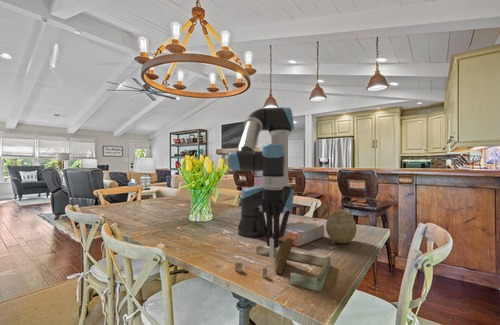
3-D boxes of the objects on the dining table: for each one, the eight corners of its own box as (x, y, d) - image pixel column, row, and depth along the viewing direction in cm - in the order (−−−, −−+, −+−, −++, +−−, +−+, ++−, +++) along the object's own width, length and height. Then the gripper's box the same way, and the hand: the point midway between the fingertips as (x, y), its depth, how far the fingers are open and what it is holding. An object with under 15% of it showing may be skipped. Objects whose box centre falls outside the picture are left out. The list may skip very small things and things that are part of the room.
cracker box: (301, 231, 124) (273, 239, 110) (301, 219, 124) (273, 226, 110) (324, 237, 113) (297, 247, 100) (324, 224, 113) (297, 233, 100)
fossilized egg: (356, 249, 97) (356, 213, 97) (324, 245, 102) (324, 210, 102) (356, 240, 109) (356, 207, 109) (327, 236, 114) (327, 205, 114)
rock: (288, 272, 73) (303, 259, 81) (275, 246, 76) (291, 236, 83) (265, 279, 80) (281, 267, 87) (254, 255, 82) (271, 245, 90)
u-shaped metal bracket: (235, 271, 79) (235, 262, 79) (257, 252, 95) (257, 244, 95) (321, 291, 67) (321, 281, 67) (330, 265, 83) (330, 257, 83)
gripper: (251, 188, 82) (251, 256, 82) (287, 190, 76) (287, 264, 76) (260, 186, 88) (260, 249, 88) (294, 188, 82) (294, 255, 82)
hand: (272, 256), depth 82 cm, fingers closed
